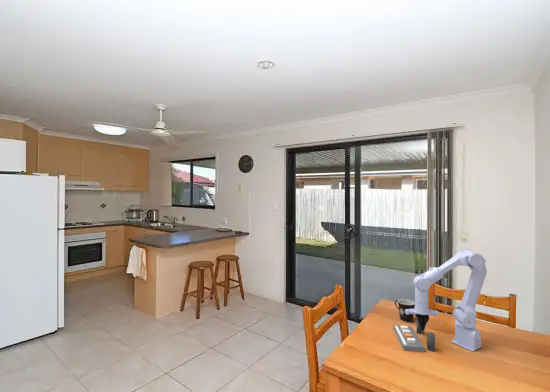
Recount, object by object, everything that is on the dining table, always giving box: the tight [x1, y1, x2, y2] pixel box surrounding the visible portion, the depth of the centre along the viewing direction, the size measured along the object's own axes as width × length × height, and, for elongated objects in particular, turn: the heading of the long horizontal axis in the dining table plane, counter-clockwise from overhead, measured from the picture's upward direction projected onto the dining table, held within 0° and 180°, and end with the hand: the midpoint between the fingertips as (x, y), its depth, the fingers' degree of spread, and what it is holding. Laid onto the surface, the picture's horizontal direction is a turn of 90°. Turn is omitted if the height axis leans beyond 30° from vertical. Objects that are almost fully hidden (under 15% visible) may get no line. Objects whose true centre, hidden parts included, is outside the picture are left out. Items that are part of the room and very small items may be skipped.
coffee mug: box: [394, 298, 415, 323], centre depth 157 cm, size 12×9×10 cm
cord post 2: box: [426, 332, 436, 353], centre depth 126 cm, size 3×3×7 cm
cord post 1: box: [416, 319, 425, 335], centre depth 140 cm, size 3×3×7 cm
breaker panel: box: [392, 324, 426, 353], centre depth 135 cm, size 20×9×3 cm, turn 169°
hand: (422, 329), depth 133 cm, fingers closed
